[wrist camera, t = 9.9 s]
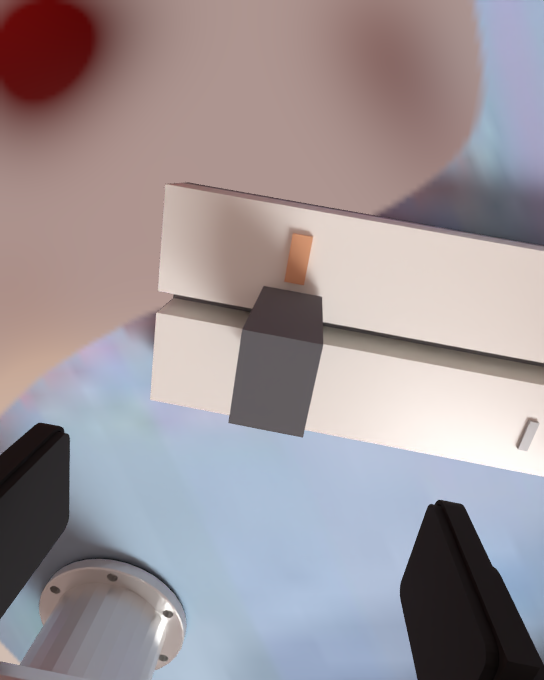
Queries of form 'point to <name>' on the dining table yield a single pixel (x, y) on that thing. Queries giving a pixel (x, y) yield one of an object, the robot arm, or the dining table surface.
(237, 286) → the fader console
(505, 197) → the dining table surface
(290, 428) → the fader tab
